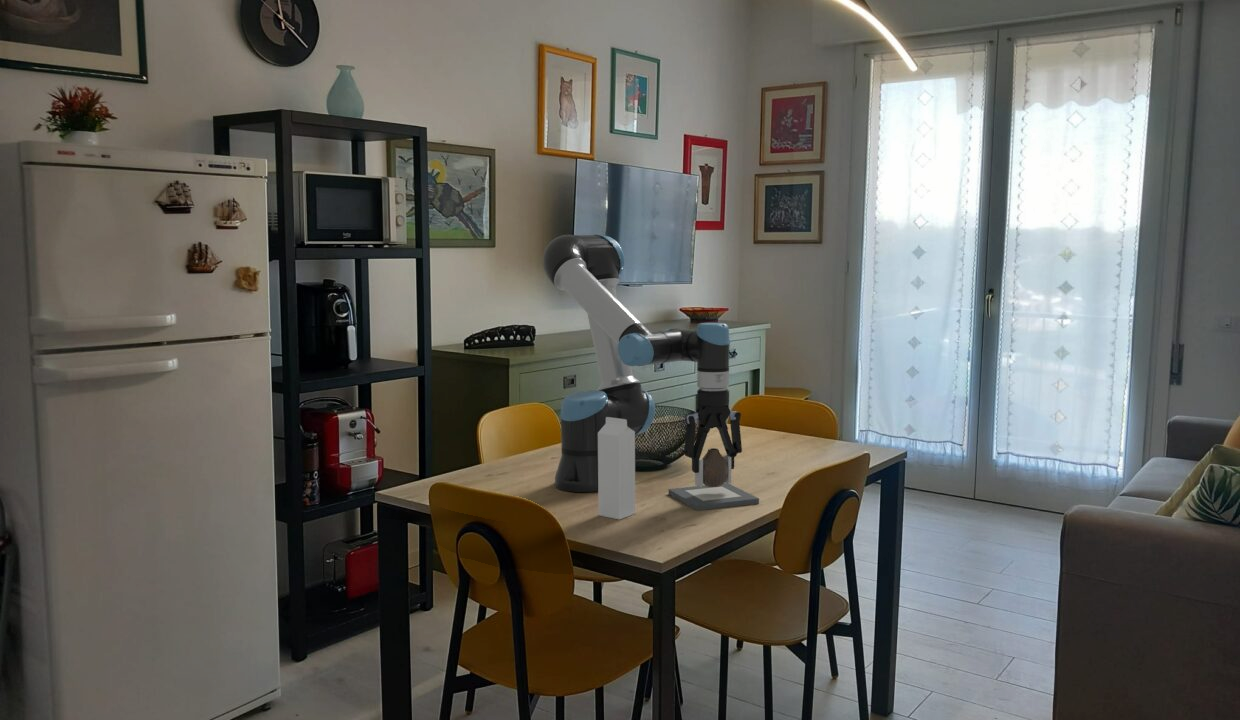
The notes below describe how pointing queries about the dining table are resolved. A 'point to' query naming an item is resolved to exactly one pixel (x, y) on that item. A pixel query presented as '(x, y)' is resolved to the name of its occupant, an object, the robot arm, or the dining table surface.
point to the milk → (616, 469)
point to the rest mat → (713, 496)
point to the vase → (714, 468)
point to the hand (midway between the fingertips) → (713, 484)
